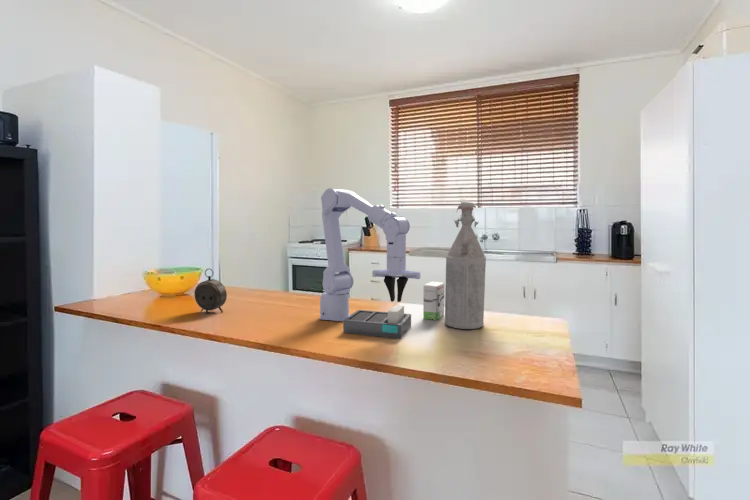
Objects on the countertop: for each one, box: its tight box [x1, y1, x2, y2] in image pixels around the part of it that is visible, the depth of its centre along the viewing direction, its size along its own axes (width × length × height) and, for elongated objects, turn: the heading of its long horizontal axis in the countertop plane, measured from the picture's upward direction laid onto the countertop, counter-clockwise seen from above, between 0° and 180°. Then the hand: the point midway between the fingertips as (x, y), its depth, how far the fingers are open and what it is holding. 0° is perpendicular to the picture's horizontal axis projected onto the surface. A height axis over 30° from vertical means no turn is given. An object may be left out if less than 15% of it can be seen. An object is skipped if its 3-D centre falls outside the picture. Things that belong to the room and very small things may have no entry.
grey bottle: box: [444, 201, 487, 330], centre depth 126 cm, size 13×17×40 cm
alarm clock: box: [194, 268, 228, 314], centre depth 142 cm, size 11×5×16 cm, turn 76°
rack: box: [342, 309, 412, 340], centre depth 121 cm, size 18×13×4 cm
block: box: [387, 304, 405, 324], centre depth 120 cm, size 3×8×6 cm, turn 162°
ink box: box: [422, 280, 446, 321], centre depth 136 cm, size 9×5×12 cm, turn 151°
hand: (396, 301), depth 119 cm, fingers closed
